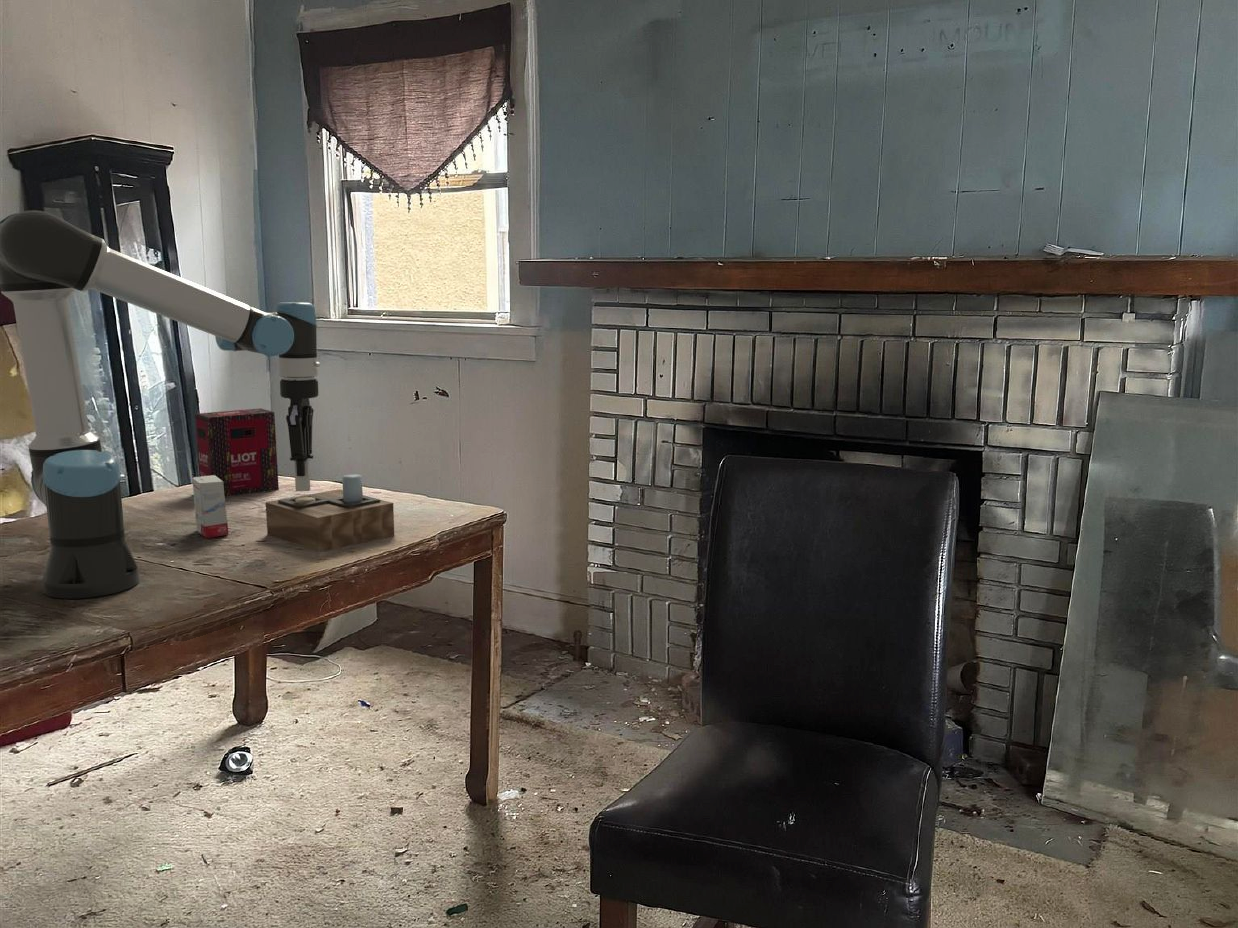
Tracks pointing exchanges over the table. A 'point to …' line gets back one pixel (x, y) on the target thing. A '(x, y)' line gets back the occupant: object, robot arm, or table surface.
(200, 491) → the ink box
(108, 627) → the table surface
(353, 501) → the slate peg front
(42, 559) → the table surface
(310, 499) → the birch peg rear
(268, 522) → the walnut block
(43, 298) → the robot arm
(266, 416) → the box
